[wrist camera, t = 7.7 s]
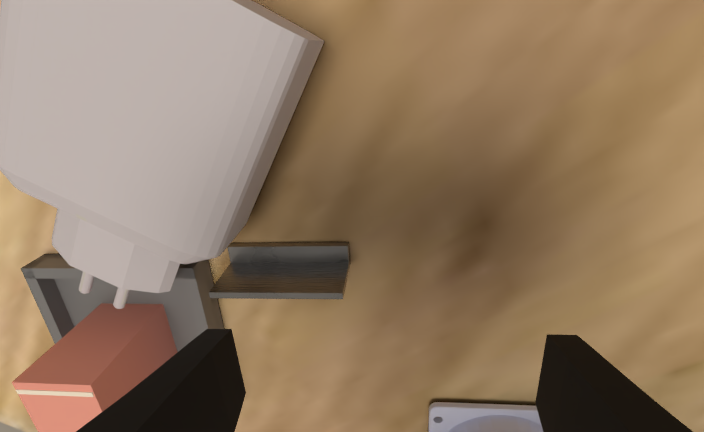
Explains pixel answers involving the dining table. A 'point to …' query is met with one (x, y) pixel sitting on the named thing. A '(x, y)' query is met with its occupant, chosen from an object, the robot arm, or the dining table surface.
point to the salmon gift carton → (95, 365)
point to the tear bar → (285, 271)
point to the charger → (146, 125)
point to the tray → (179, 303)
